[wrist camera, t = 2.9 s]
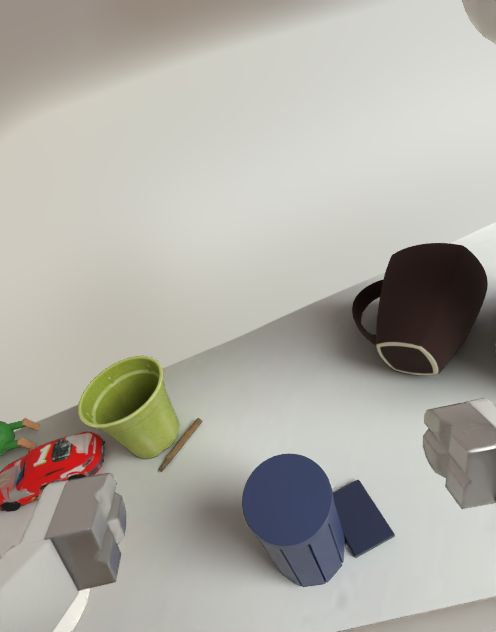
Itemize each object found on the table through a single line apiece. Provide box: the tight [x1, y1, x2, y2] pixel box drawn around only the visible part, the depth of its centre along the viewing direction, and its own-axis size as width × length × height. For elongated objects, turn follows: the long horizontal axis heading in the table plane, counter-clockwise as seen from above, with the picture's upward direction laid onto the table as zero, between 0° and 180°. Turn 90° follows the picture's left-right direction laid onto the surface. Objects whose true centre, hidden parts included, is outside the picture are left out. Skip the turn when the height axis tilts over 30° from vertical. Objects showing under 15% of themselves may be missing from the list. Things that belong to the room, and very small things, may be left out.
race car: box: [0, 432, 105, 511], centre depth 44 cm, size 13×5×4 cm, turn 104°
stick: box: [159, 418, 202, 472], centre depth 44 cm, size 7×1×1 cm, turn 144°
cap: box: [242, 454, 395, 587], centre depth 30 cm, size 10×6×9 cm, turn 111°
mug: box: [352, 243, 487, 375], centre depth 44 cm, size 10×14×12 cm
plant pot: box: [78, 356, 179, 458], centre depth 43 cm, size 9×9×9 cm
